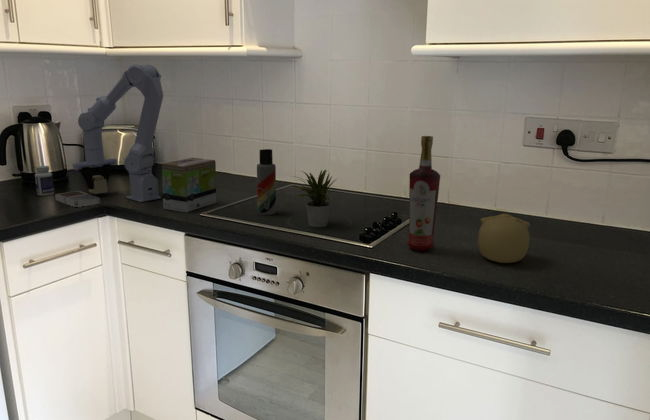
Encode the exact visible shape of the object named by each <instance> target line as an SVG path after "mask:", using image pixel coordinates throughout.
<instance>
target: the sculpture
mask: <svg viewBox="0 0 650 420" xmlns="http://www.w3.org/2000/svg"><path fill="white" fill-rule="evenodd" d="M480 223H481V226H480V228H479V229H478V230H479V231H478V235H477V245H478V249H479V252H480V254H481V256H483V257H484V258H485V259H488V260H490V261H492V262H495V263H501V264H511V263H516V262H520V261H521V260H523V258H524V257H525V256H526V254H527V252H528V251H529V250H528V249H529V247H530V232H529V227H530V226H531V224H530V222H529V221H525V220H524V219H521V218H519V217H514V216H512V215H511V214H509V213H501V214H498V215H491V216H487V217H482V218H480Z"/></svg>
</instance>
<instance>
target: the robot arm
mask: <svg viewBox="0 0 650 420" xmlns="http://www.w3.org/2000/svg"><path fill="white" fill-rule="evenodd" d="M161 78H162V75H161V74H160V73H159V71H158V69H157V68H156V67H155V66H153V65H151V64H146V65H144V64H132V65H130V66H129V67H128V68H127V70H125V71H124V72H123V73H122V75H121V78H119V80H118V81H117V82H116V84H115V85H113V88H112V89H111V90H110V92H108V94H106V95H102V96H100V97H96V98H95V102H94V104H93V105H92V106H91V107H89V108H87V111H86V112H82V113H80V114H79V117H78V118H77V124H78V127H80V129H81V130H82V136H83V146H84V153H85V161H82V162H80V161H79V162H75V163H72V169H73V170H74V171H75V170H76V171H79V172H80V174H81V176H83V178H84V181H85V182H86V184H87V185H86V186H87V189H88V190H89V189H93V181H92V176H93V172H94V170H93V169H92V168H99V170H100V175H101V176H104V179H107V187H108V185H109V184H108V183H109V181H110V180H109V179H110V175H111V173H112V171H113V170H114V169H113V166H115V165H116V166H117V165H118V159H116V158H107V159H105V156H104V145H103V135H102V134H103V127H104V125H105V121H106V119H108V117H110V115H111V114H112V113H113V112H114V111H115V110H116V108H117V107H116V106H117V105H116V103H117V102H118V101H119V100H120V99H121V98H122V97H124V95H126V93H128V92H129V91H130V89H132V88H136V89H137V90H138V91H140V93H141V94H142V96H143V97H144V98H143V99H144V100H143V103H142V108H141V109H142V110H141V113H140V117H139V122H138V128H137V132H136V135H135V140H134V143H133V144H132V146H131V147H130V148H129V151H128V153H127V155H126V157H125V158H124V161H123V165H124V168H125V170H126V171H127V172H128V174H129V175H128V176H129V187H130V195H126V196H125V198H126V199H129V200H132V201H135V202H139V203H142V202H148V201H152V200H154V201H155V200H158V199H162V196H160V195H159V181H158V179H157V177H156V176H154V175H153V169H152V168H153V166H154V164H155V149H154V147H152V146H153V141H154V138H155V133H156V130H157V129H156V128H157V125H158V120H159V116H160V112H161V107H162V103H163V99H164V92H163V87H162V84H161V83H162V82H161Z"/></svg>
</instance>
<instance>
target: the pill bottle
mask: <svg viewBox="0 0 650 420" xmlns="http://www.w3.org/2000/svg"><path fill="white" fill-rule="evenodd" d="M35 171H36V173H35V174H34V179H35V187H36V195H38V196H42V197H43V196H51V195H55V186H54V177H53V173H52V172H50V166H49V165H39V166H35Z"/></svg>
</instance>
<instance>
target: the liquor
mask: <svg viewBox="0 0 650 420" xmlns="http://www.w3.org/2000/svg"><path fill="white" fill-rule="evenodd" d="M420 143H421V144H420V145H421V154H420V158H419V165H418V168H417V169H414V170H413V171H411V172H410V173H409V185H408V186H409V189H408V190H409V193H408V194H409V195H408V196H409V199H408V200H409V208H408V209H409V213H408V215H409V219H408V220H409V221H408V222H409V223H408V224H409V225H408V227H409V228H408V240H407V242H406V245H408V247H409V248H410V249H411V250H412V251H414V252H419V253H420V252H424V253H425V252H428V251H430V250H431V249H433V248H434V247H435V246H436V245H435V242H434V234H435V225H436V224H435V223H436V216H437V208H438V199H439V193H440V192H439V191H440V184H441V183H440V182H441V174H440V173H439V172H438V171H436V170H435V169H433V167H432V166H433V164H432V150H433V149H432V148H433V143H434V136H432V135H431V136H430V135H421V140H420Z"/></svg>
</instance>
